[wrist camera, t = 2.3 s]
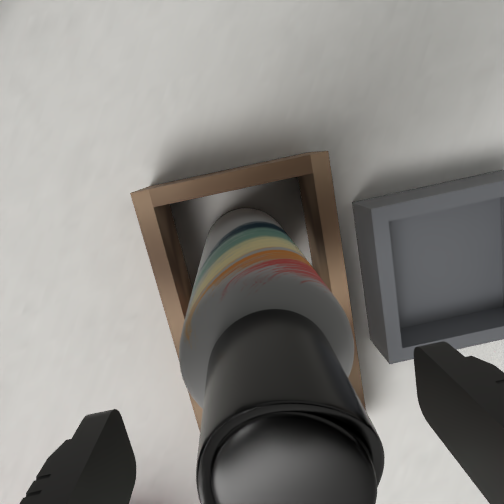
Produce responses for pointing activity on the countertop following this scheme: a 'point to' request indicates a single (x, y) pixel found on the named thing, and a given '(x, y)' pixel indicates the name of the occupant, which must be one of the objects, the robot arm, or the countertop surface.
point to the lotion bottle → (273, 375)
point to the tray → (433, 265)
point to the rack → (302, 166)
